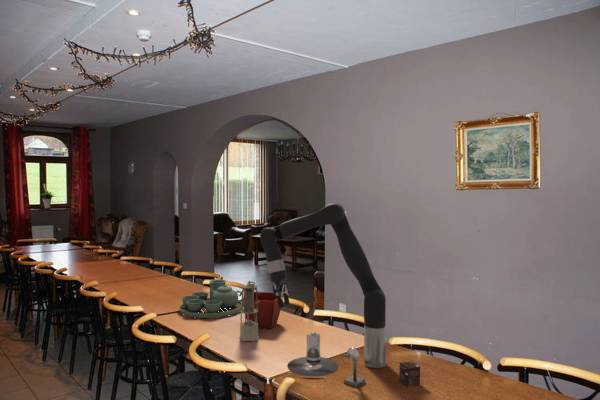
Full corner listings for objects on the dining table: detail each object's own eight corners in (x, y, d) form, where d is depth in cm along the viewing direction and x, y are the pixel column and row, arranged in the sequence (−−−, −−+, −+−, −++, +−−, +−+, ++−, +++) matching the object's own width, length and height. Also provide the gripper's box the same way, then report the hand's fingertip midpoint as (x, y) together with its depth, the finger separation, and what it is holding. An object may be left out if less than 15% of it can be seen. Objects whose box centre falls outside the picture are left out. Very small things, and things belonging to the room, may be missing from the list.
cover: (320, 356, 206) (320, 330, 206) (320, 362, 200) (320, 335, 200) (306, 356, 207) (306, 330, 206) (305, 361, 200) (306, 334, 200)
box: (398, 380, 185) (399, 362, 184) (411, 378, 187) (411, 360, 187) (407, 386, 179) (407, 368, 179) (420, 384, 181) (420, 366, 181)
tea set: (174, 306, 301) (174, 282, 300) (233, 300, 318) (233, 277, 317) (186, 322, 265) (186, 294, 264) (251, 315, 282) (251, 288, 281)
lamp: (252, 334, 243) (252, 278, 242) (266, 340, 233) (266, 282, 232) (235, 338, 236) (235, 280, 236) (248, 345, 226) (248, 284, 226)
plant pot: (241, 329, 252) (241, 298, 252) (252, 319, 271) (252, 291, 271) (274, 331, 248) (274, 300, 247) (283, 321, 266) (283, 293, 266)
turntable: (337, 359, 206) (337, 356, 206) (339, 380, 184) (339, 376, 184) (289, 358, 207) (289, 355, 207) (285, 378, 185) (285, 375, 185)
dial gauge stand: (365, 382, 182) (365, 346, 182) (356, 387, 178) (357, 350, 177) (346, 376, 188) (346, 341, 188) (338, 381, 184) (338, 345, 183)
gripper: (279, 270, 200) (287, 307, 198) (289, 267, 214) (296, 302, 212) (263, 273, 202) (271, 310, 200) (274, 271, 216) (281, 305, 213)
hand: (284, 306), depth 206 cm, fingers open, 8 cm apart
